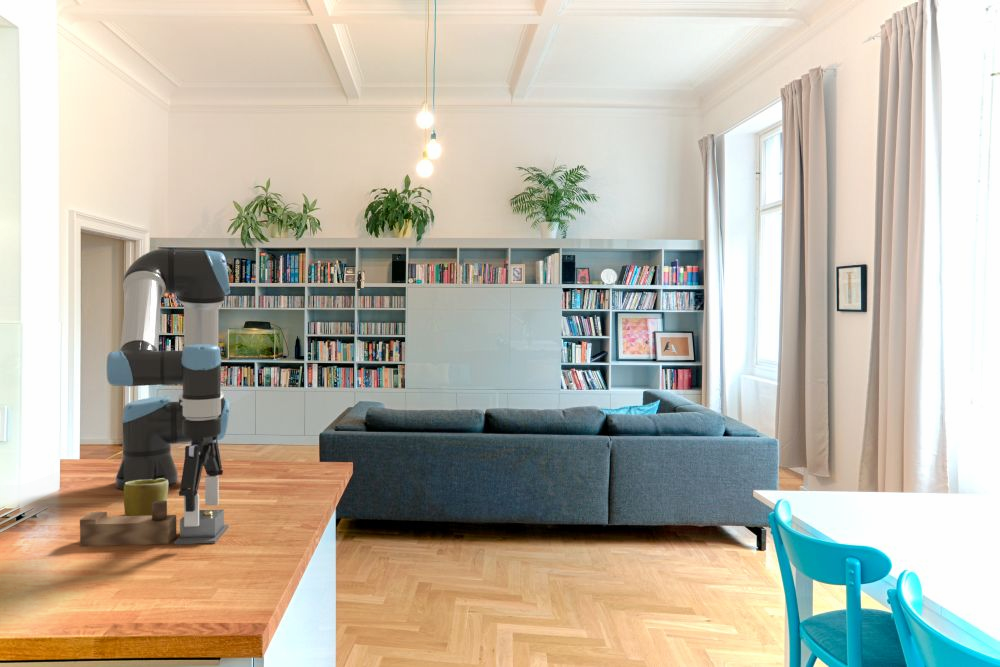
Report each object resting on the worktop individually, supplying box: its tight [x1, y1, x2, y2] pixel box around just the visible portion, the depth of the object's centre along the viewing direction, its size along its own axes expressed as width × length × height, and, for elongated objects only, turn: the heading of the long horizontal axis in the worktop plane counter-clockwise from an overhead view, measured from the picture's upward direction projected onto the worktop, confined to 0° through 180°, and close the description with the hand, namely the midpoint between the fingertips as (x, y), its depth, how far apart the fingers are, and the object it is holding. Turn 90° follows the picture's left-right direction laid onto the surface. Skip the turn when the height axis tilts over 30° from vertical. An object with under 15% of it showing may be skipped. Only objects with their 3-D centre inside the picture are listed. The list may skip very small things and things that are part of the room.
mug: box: [123, 478, 169, 516], centre depth 158 cm, size 12×10×10 cm
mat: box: [174, 524, 229, 545], centre depth 144 cm, size 10×8×1 cm
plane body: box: [79, 501, 177, 547], centre depth 140 cm, size 17×5×8 cm, turn 97°
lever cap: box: [179, 509, 225, 539], centre depth 144 cm, size 7×6×5 cm
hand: (202, 515), depth 144 cm, fingers open, 13 cm apart
